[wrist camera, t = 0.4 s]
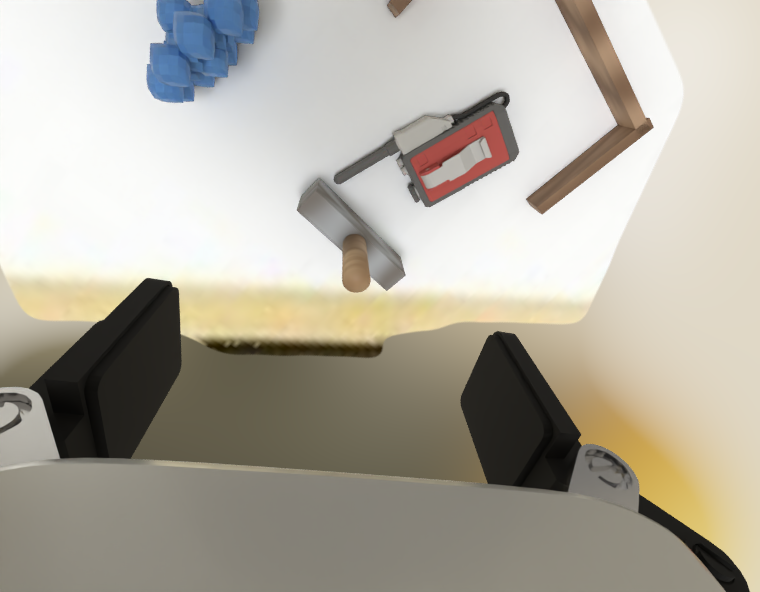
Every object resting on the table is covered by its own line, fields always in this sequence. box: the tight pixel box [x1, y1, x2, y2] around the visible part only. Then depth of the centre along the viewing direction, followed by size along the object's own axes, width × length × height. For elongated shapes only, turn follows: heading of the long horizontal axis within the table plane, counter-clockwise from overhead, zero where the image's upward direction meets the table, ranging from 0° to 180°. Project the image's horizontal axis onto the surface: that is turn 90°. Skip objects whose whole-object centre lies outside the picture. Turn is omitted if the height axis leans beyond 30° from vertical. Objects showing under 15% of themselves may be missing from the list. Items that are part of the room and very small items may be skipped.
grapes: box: [147, 0, 259, 103], centre depth 30 cm, size 12×7×12 cm, turn 126°
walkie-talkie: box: [334, 92, 519, 207], centre depth 40 cm, size 9×4×20 cm
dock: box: [387, 0, 654, 214], centre depth 37 cm, size 26×14×3 cm, turn 43°
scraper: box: [297, 178, 405, 292], centre depth 40 cm, size 14×3×13 cm, turn 43°
